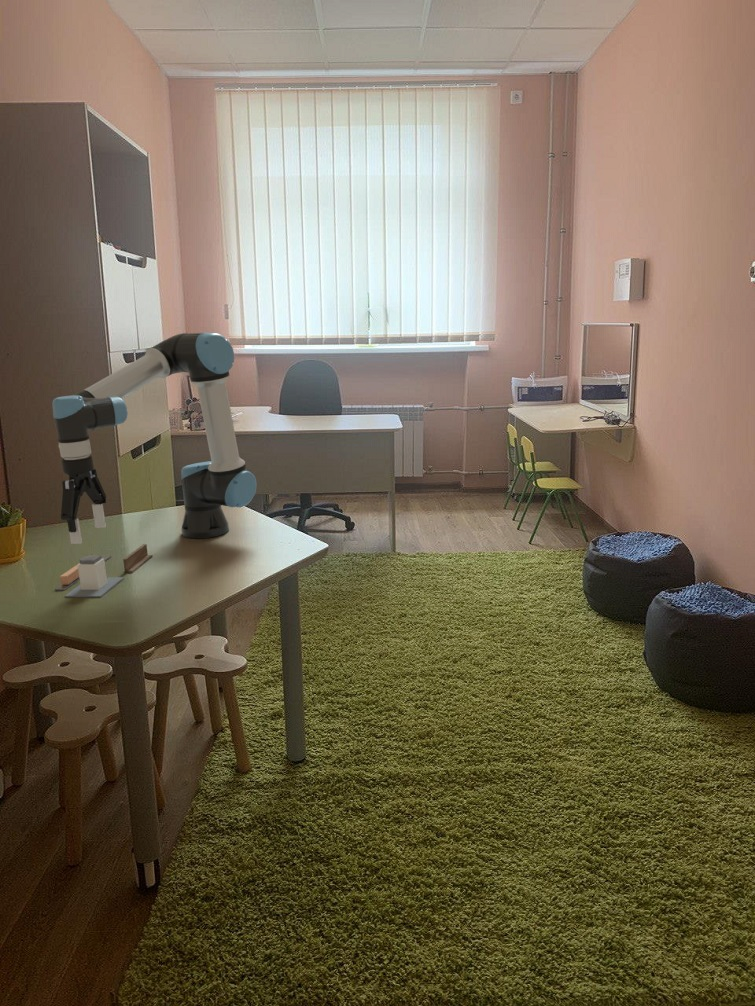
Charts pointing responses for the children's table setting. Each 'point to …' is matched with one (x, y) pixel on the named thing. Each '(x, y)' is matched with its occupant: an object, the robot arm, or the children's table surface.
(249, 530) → the children's table surface
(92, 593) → the felt mat
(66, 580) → the bar
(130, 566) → the fence
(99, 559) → the plug block
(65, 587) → the track
